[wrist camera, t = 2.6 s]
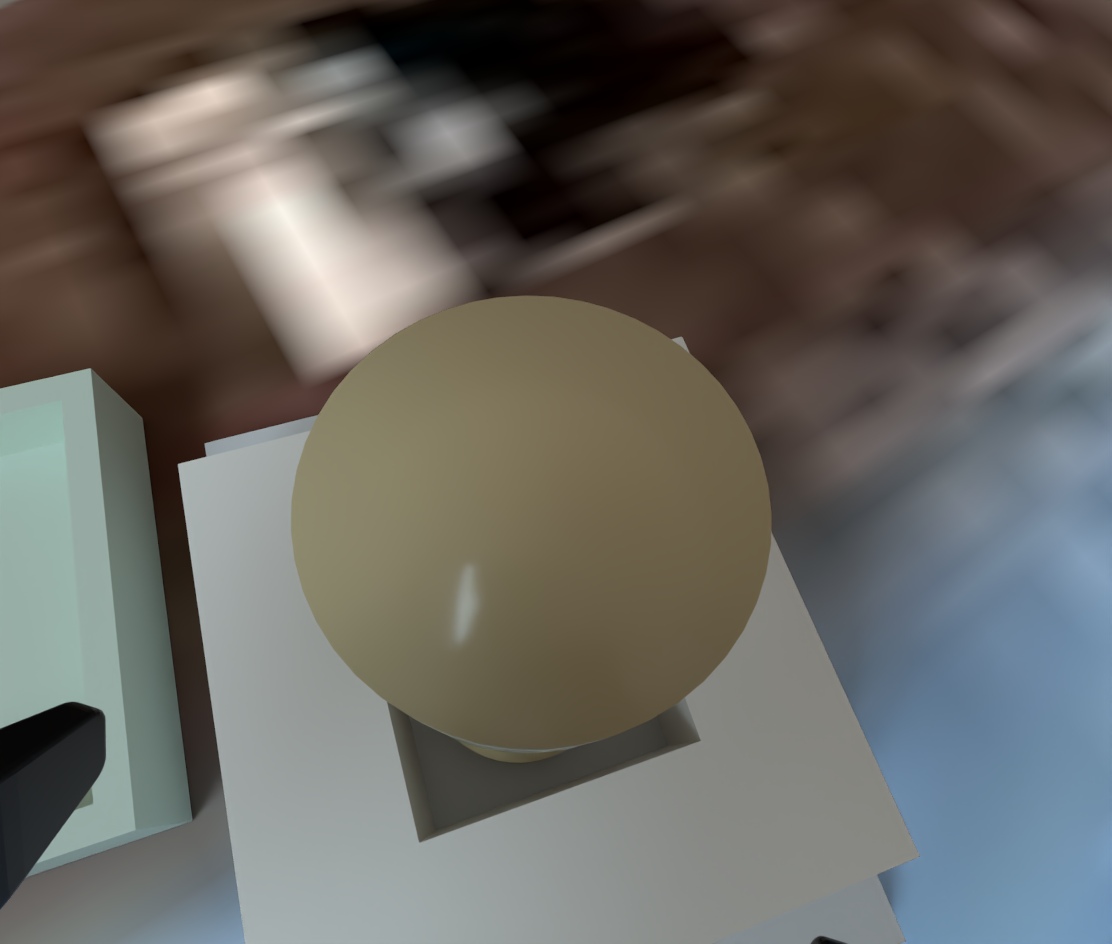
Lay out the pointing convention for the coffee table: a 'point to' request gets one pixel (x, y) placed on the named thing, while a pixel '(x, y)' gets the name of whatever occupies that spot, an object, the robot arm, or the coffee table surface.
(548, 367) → the cream rounded cylinder
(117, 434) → the parts tray
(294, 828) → the grey block with recess
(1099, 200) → the coffee table surface
